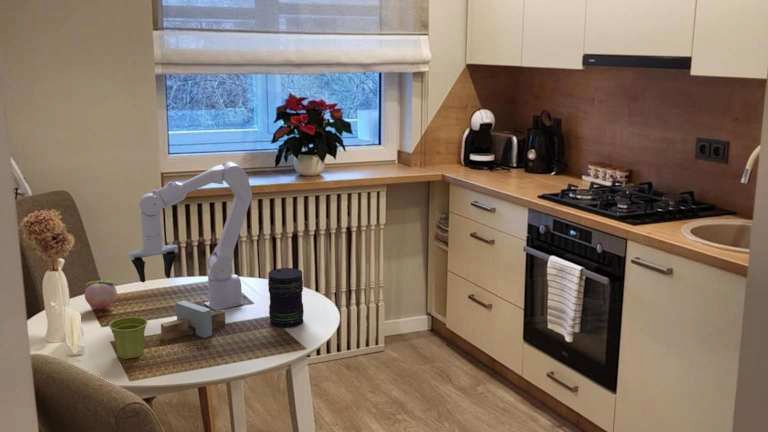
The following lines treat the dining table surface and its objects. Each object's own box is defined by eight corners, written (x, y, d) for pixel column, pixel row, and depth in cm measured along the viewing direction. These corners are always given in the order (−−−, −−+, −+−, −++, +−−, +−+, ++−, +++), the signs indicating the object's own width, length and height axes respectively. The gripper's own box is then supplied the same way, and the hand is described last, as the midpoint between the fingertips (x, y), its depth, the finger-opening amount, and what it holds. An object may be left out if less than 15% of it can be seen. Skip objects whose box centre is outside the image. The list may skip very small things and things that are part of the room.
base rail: (221, 322, 222) (220, 309, 221) (225, 325, 220) (224, 312, 219) (161, 337, 211) (160, 323, 210) (165, 340, 209) (164, 326, 208)
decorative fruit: (118, 303, 238) (116, 272, 236) (118, 311, 230) (115, 280, 228) (86, 306, 235) (83, 275, 233) (85, 315, 228) (82, 283, 225)
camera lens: (310, 322, 223) (309, 272, 219) (284, 331, 216) (283, 280, 212) (288, 313, 229) (287, 265, 226) (262, 322, 222) (260, 273, 219)
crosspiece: (212, 335, 213) (210, 309, 211) (204, 337, 211) (203, 312, 209) (185, 325, 220) (183, 300, 218) (177, 327, 218) (175, 302, 216)
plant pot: (157, 350, 202) (154, 319, 200) (134, 364, 194) (132, 331, 192) (127, 345, 205) (124, 314, 203) (103, 359, 197) (101, 327, 195)
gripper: (170, 228, 232) (172, 271, 235) (122, 235, 223) (126, 280, 226) (180, 232, 227) (182, 276, 230) (131, 240, 218) (135, 286, 221)
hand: (155, 279), depth 228 cm, fingers open, 7 cm apart
